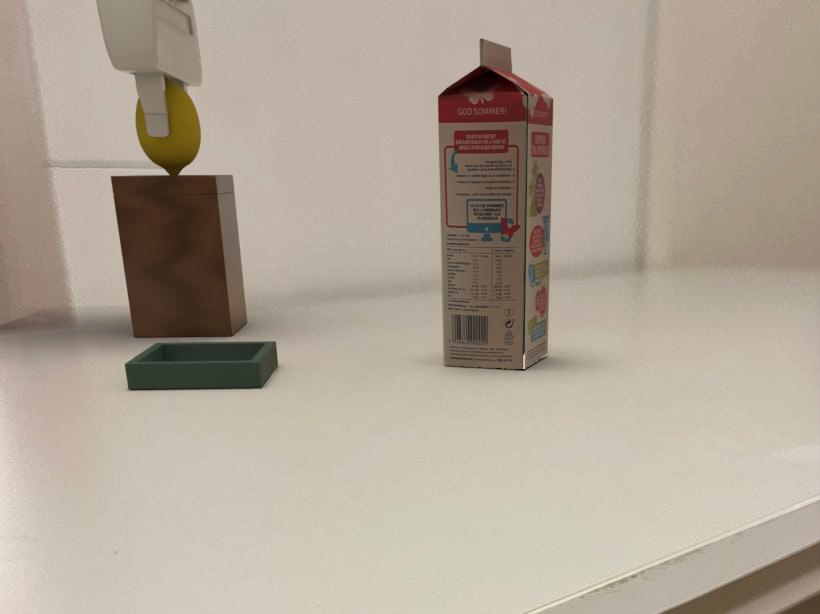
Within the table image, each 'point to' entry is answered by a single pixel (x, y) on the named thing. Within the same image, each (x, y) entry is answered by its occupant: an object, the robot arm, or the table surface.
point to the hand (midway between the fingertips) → (168, 138)
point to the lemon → (172, 132)
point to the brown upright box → (180, 254)
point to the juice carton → (495, 215)
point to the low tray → (202, 365)
